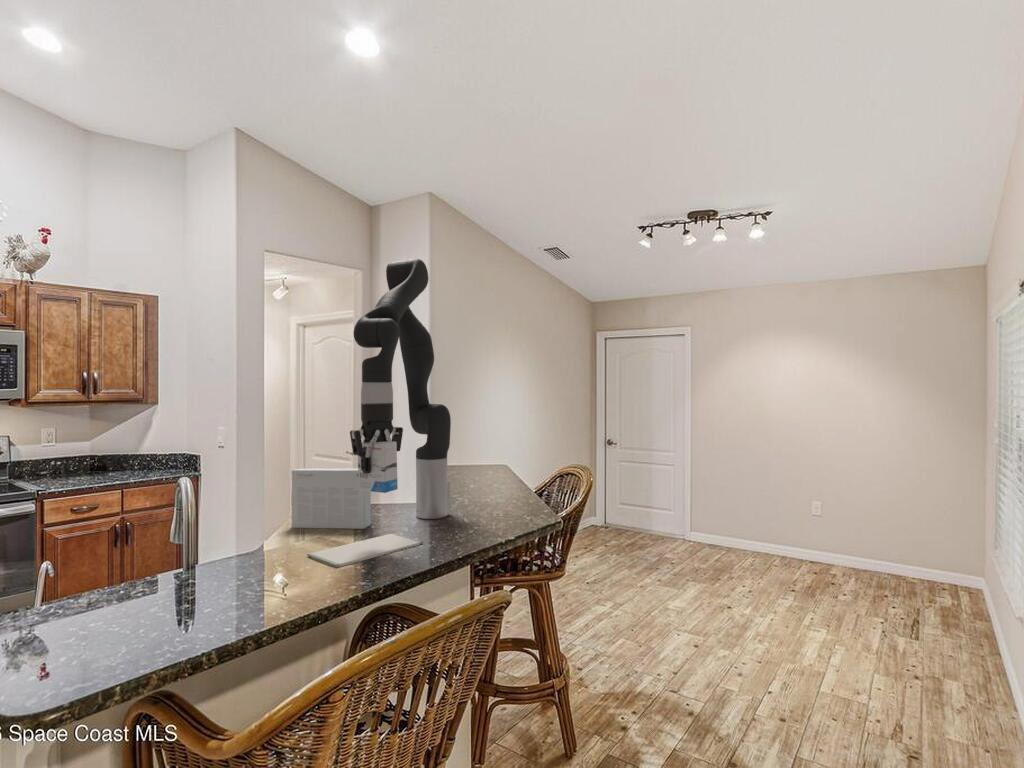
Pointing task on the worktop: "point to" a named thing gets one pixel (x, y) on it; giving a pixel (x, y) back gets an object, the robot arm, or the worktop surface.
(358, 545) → the mat
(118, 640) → the worktop surface
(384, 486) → the ink box
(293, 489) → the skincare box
